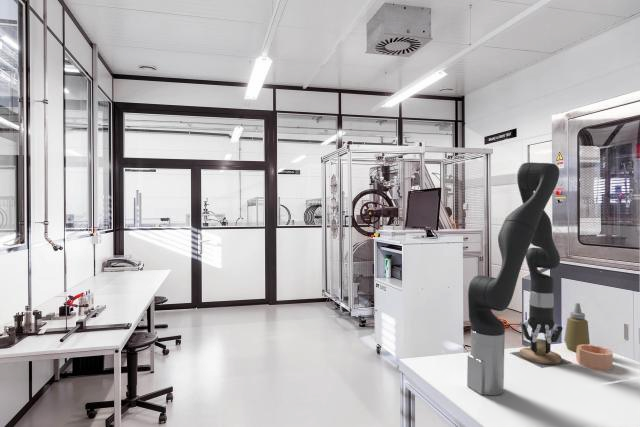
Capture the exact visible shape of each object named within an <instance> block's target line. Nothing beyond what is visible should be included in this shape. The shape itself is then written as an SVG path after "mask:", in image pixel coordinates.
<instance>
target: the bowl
mask: <svg viewBox="0 0 640 427" xmlns="http://www.w3.org/2000/svg"><path fill="white" fill-rule="evenodd" d="M575 353H576V359H575V360H576V362H577V363H578V365H580V366H582V367H585V368H588V369H593V370H597V371H610V370H612V369H613V362H614V360H613V358H614V356H613V355H614V352H613V351H612V350H611V349H609V348H606V347H603V346H600V345H595V344H589V345H587V344H582V345H578V346H577V351H576V352H575Z"/></svg>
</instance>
